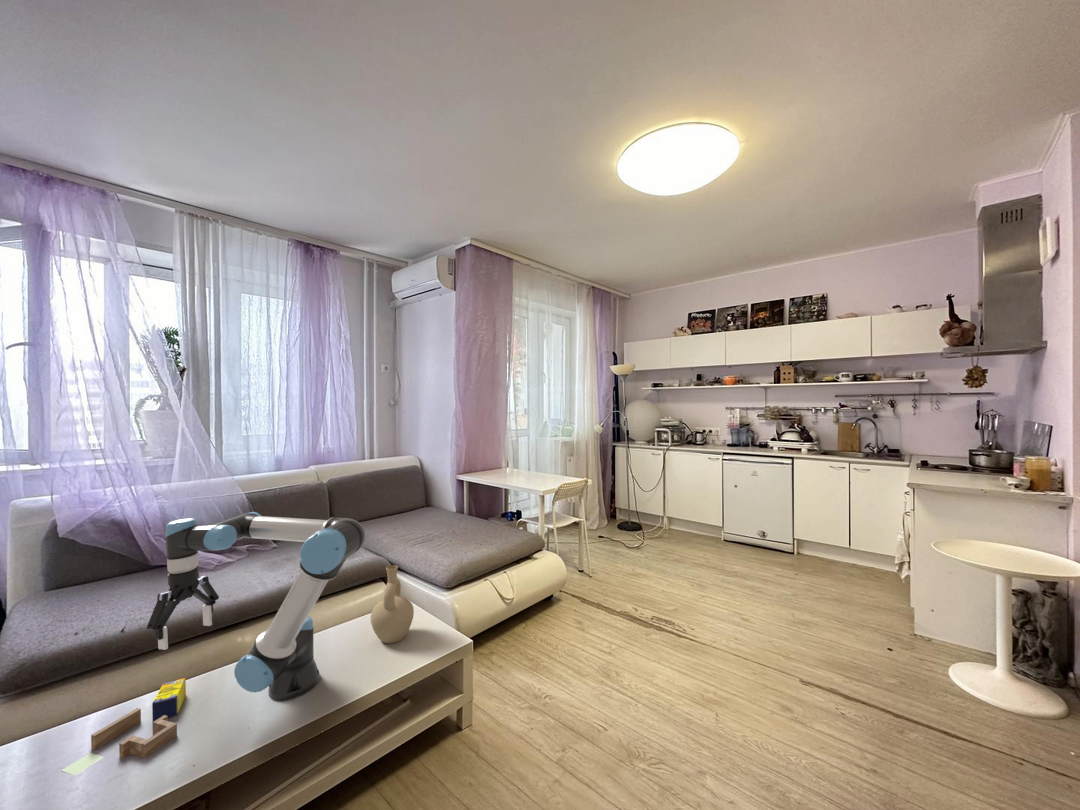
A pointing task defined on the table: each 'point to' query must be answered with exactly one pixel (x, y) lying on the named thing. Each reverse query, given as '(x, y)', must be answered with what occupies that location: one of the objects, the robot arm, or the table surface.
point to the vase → (392, 611)
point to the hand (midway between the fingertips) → (186, 636)
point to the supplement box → (169, 699)
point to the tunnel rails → (134, 744)
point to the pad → (82, 764)
